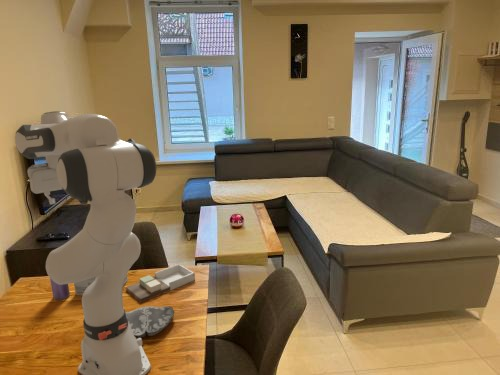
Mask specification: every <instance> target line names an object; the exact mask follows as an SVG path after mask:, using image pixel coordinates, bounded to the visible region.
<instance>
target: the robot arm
mask: <svg viewBox="0 0 500 375" xmlns="http://www.w3.org/2000/svg"><path fill="white" fill-rule="evenodd" d="M40 116H41V117H40V124H22V125H21V126H20V127H19V128H18V129H17V130H16V131H15V134H14V135H15V136H14V140H15V141H14V142H15V146H16V148H17V150H18V152H19V154H20V155H22V156H23V157H24V158H26V159H29V160H32V159H38V158H43V157H44V158H45V163H39V164H32V165H31V166H29V167H28V168H27V171H26V172H27V177H28V178H29V186H30V191H31V192H32V193H33V194H36V195H37V194H44V195H43V196H45V197H46V198H47V200H48V202H49V205H50V206H51V205H55V204H56V198H54V197H51V196H50V195H51V192H54V191H60V190H62V191H64V192H65V193H66V194H67V195H68V196H69V197H71V198H73V199H75V200H77V201H78V202H79V203H80V204H81V205H85V206H86V205H87V204H88V202H89V204H90V207H89V211H88V214H87V216H86V219H85V222H84V225H83V227H82V229H81V230H80V231H79V232H78V233H77V234H75V235H74V236H73V237H72V238H71V239H69V240H68V241H67V242H65V243H63V244H62V245H60V246H59V247H57V248H55V249H52V250H51V251H50V252H49V254H48V255H47V258H46V261H45V270H46V273H47V277H48V278H49V280H50V279H51V280H52V281H54V282H55V283H57V284H59V285H63V284H68V285H69V284H74V283H76V282H81V281H84V280H87V279H90V278H93V277H96V276H97V277H96V279H95V280H94V282H93V283H92V284H90V285H89V286H88V287H87V288H86V290H85V291H84V293H83V295H81V296H82V297H81V306H82V311H83V312H82V313H83V325H82V326H83V327H82V328H83V330H84V336H83V339H82V340H81V343H80V348H81V349H80V350H81V357H82V358H81V359H82V362H81V363H80V364H79V365H78V367H77V371H78V373H79V374H81V375H146V374H147V373H149V372H150V370H151V368H152V365H151V362H150V361H149V360H150V359H149V358H148V356H147V355H146V352H145V351H144V348H143V346H142V345H143V339H142V337H135V336H134V334H135V333H136V332H135V329H131V327H130V324H129V322H128V320H127V315H126V312H127V311H126V310H125V308H124V301H123V300H124V296H123V286H124V285H123V283H124V280H125V277H126V275H127V276H128V273H129V271H130V269H131V267H132V266H134V264H135V262H136V261H137V260H138V259H139V257H140V256H141V255H140V254H141V250H142V249H141V248H142V245H141V242H140V239H139V238H138V236H137V235H136V234H135V233H134V232H132V231H133V228H134V226H135V223H136V217H137V206H136V205H137V204H136V203H135V200H134V199H133V198H132V197H131V196H130V195H129V194H128V193H126V192H125V191H129V190H132V189H136V188H137V189H141V188H144V187H146V186H149V185H150V184H152V183H153V182H154V180H155V177H156V175H157V162H156V159H155V155H154V154H153V152H152V151H151V150H150V149H148V147H146V146H145V145H143V144H140V143H137V142H136V141H135V140H134V139H133V138H129V139H128V140H122V139H121V138H120V135H119V131H118V128H117V126H116V124H115V123H114V122H113V121H112V120H111V119H110V118H108V117H107V116H104V115H101V114H96V113H83V114H79V115H76V116H74V117H71V118H69V117H68V113H67V112H65V111H58V110H57V111H47V112H45V113H43V114H41V115H40Z"/></svg>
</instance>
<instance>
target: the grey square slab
mask: <svg viewBox="0 0 500 375" xmlns="http://www.w3.org/2000/svg"><path fill="white" fill-rule="evenodd" d="M152 277H153V278H154V280H157V281H158V282H160V283H161V289H160V290H157V291H155V292H152V293H151V292H150V291H148V290H147V289H146V288H145V287H143V286H142V285H141V284H140V281H139V282H135V283H133V284H130V285H128V286H125V289H126V291H127V292H128V293H129V294H130V295H131V296H132V297H134V299H136V300H137V301H139V303H143V302H146V301H148V300H151V299H153V298H156V297H158V296H160V295H161V296H162V294H165V293H168V292H170V291H171V290H170V286H168V285H167V284H165V283H164V282H162V281H161V280H159V279H158V278H157V277H155V276H152Z"/></svg>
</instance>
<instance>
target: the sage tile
mask: <svg viewBox="0 0 500 375" xmlns="http://www.w3.org/2000/svg"><path fill="white" fill-rule="evenodd" d="M153 277H154V276H151V275H150V274H148V275H146V276H143V277H140V278H139V279H138V280H139V282H140V284H141V285H142V286H143V287H145V288H146V283H148V282H150V281H153V280H154V278H153Z"/></svg>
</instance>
